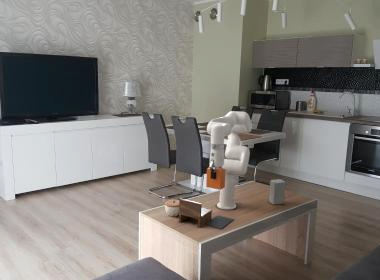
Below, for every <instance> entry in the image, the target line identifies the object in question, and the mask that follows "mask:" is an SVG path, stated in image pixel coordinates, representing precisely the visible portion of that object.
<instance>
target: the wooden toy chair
mask: <svg viewBox="0 0 380 280" xmlns="http://www.w3.org/2000/svg"><path fill="white" fill-rule="evenodd" d="M178 200H179V214H178V222H179V223H182V222H184V221H186V220H187V219H188V218H193V219H197V227H198V228H202V227H203V226H204V225H206V224H207V223H209V222H210V221H211V220H212V218H213V217H212V216H213V215H212V213H213V210H212V209H209V208H205V207H202V203H201V202H198V201H193V200H189V199H185V198H181V197H180V198H179V199H178Z"/></svg>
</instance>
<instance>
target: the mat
mask: <svg viewBox="0 0 380 280" xmlns="http://www.w3.org/2000/svg"><path fill="white" fill-rule="evenodd" d="M233 221H234V218H229V217H225V216H221V215H217V216H216V217H214V218H213V219H211V220H210V221H209V222H207V223H206V224H205V226H208V227H211V228H215V229H220V230H222V229H224V228H225V227H226V226H227V225H229V224H230V223H231V222H233Z"/></svg>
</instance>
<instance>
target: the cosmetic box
mask: <svg viewBox="0 0 380 280" xmlns="http://www.w3.org/2000/svg"><path fill="white" fill-rule="evenodd" d="M269 181H270V182H269V193H268V194H269V197H268V203H270V204H272V205H275V206H276V205H282V204H285V193H286V181H284V180H283V179H281V178H278V179H271V180H269Z"/></svg>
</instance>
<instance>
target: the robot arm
mask: <svg viewBox="0 0 380 280" xmlns="http://www.w3.org/2000/svg"><path fill="white" fill-rule="evenodd" d="M250 117H251V116H250V115H249V113H247V112H246V111H238V110H237V111H236V110H232V111H228V112H227V113H226V115H224V116H221V117H216V118H213V119H211V120H210V121H209V122H208V124H207V125H206V133H207V134H208V135H210V153H209V166H208V168H210V172H211V179H216V168H224V169H226V173H225V187H224V188H223V189H221V190H219V200H218V201H219V202H217V203H216V207H217V208H218V209H220V210H225V211H231V210H232V211H233V210H235V209H236V208H237V204H236V203H235V201H236V197H235V191H236V179H235V177H234V176H240V177H241V176H242V177H243V176H245V175H246V174H247V170H248V166H249V161H250V155H251V151H250V148H249V147H248V146H245V145H241V143H242V142H241V140H242V139H241V138H240V136H239V135H238V134H237V133H240V134H241V133H243V134H249V133H251V132H252V129H253V124H252V120H251V118H250ZM225 137H227V142H226V147H225ZM213 168H214V169H213Z"/></svg>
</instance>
